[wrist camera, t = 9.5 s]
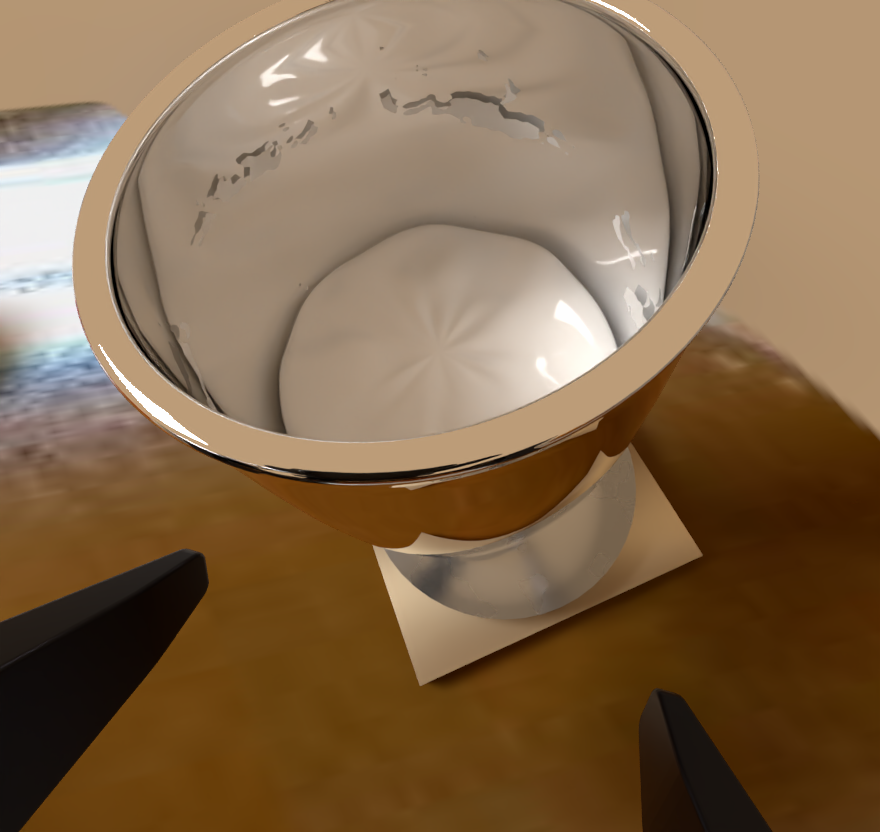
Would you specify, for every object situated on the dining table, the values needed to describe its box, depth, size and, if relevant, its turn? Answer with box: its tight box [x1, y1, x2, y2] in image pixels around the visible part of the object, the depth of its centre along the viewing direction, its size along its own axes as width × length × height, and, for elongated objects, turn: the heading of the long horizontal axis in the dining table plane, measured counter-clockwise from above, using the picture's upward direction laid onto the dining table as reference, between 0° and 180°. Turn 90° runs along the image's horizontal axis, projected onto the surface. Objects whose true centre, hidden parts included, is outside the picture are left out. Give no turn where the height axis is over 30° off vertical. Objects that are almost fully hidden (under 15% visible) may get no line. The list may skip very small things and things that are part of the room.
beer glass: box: [72, 0, 759, 562], centre depth 11 cm, size 7×7×15 cm
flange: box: [384, 447, 636, 619], centre depth 19 cm, size 11×11×1 cm
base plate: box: [373, 443, 703, 686], centre depth 19 cm, size 12×12×1 cm
